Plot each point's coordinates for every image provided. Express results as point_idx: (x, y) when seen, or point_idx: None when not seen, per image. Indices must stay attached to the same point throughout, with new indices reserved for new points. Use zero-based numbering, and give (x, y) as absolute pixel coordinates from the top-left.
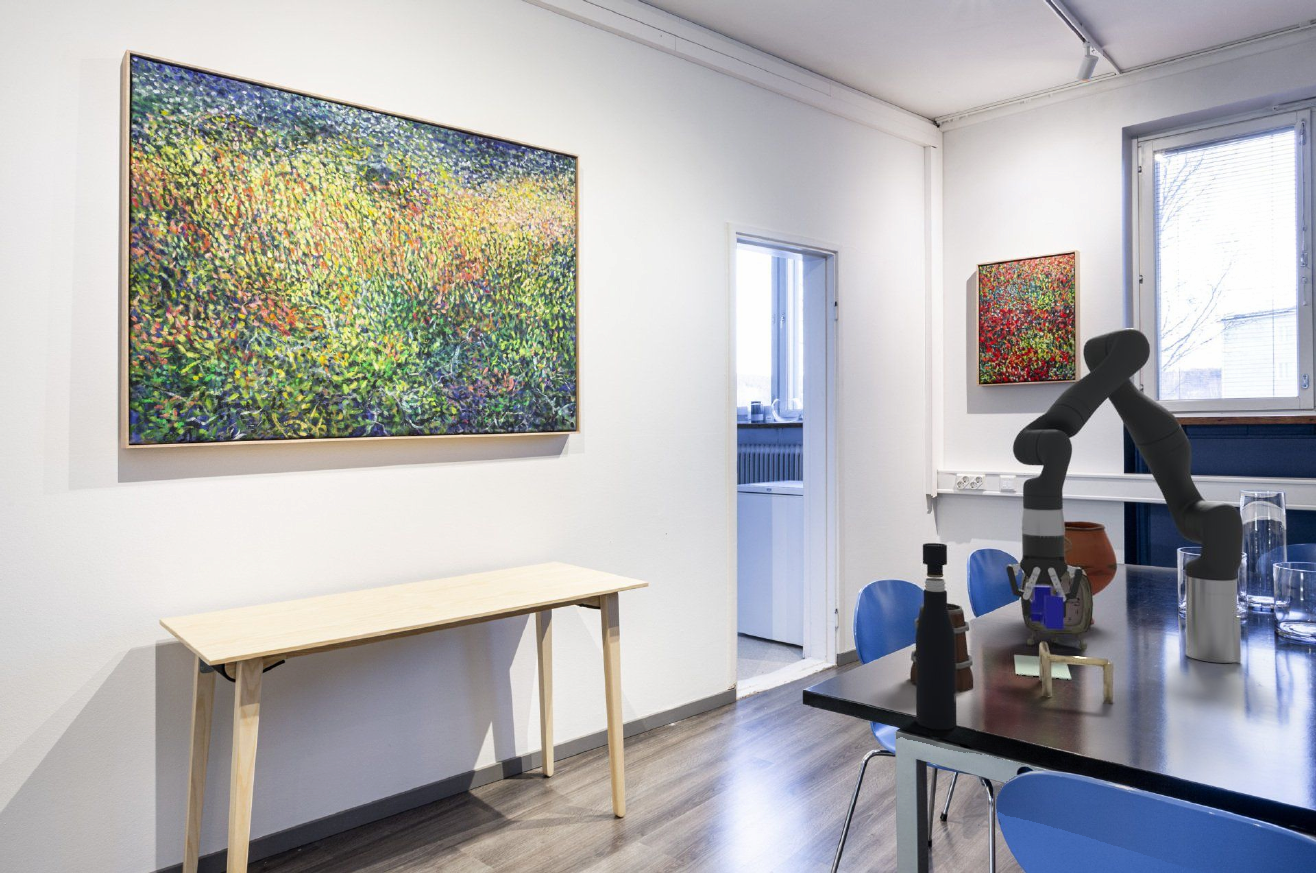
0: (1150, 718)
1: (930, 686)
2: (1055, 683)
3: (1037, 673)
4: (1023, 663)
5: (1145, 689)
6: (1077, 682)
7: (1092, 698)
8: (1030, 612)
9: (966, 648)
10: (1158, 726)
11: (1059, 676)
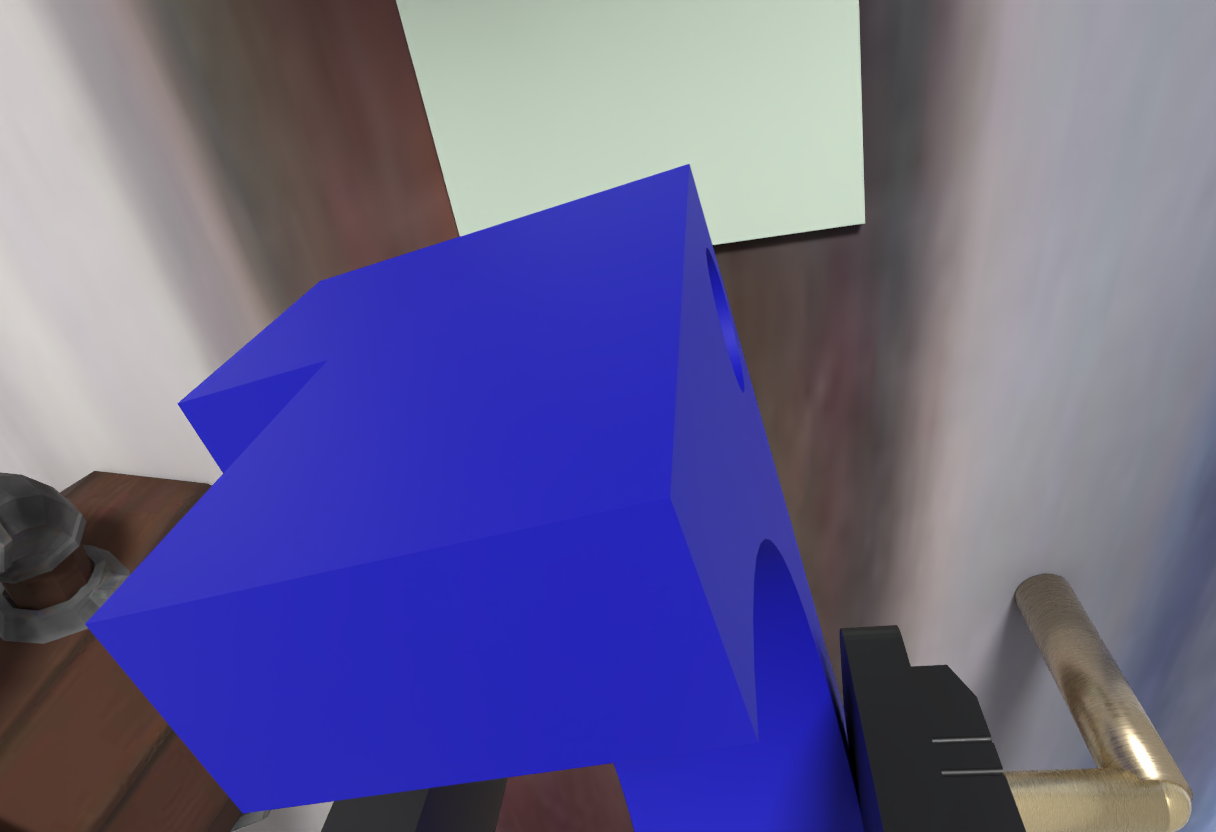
0: (1204, 738)
1: None
2: (751, 355)
3: None
4: None
5: None
6: (904, 259)
7: (962, 560)
8: (489, 820)
9: (213, 826)
10: (1202, 812)
11: (777, 209)
